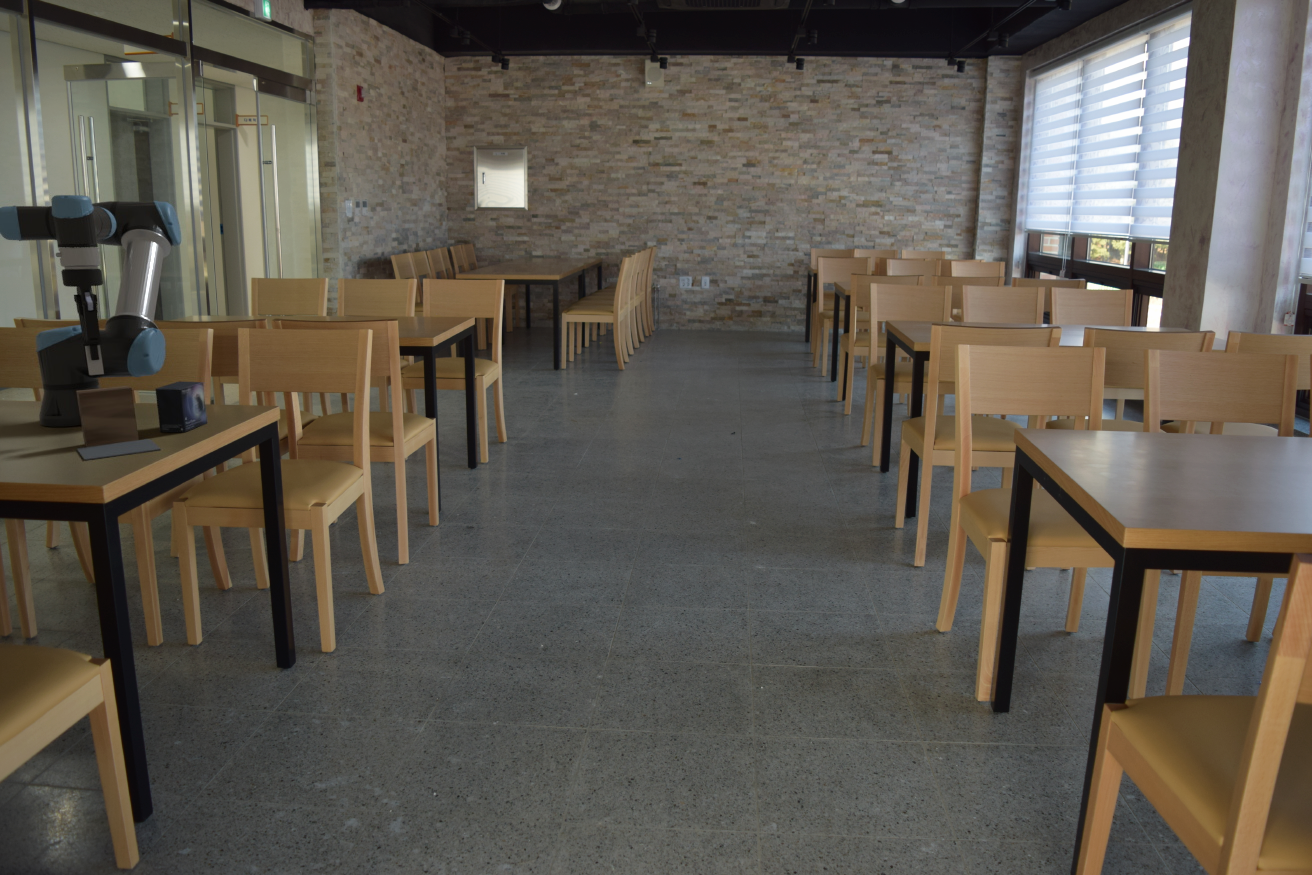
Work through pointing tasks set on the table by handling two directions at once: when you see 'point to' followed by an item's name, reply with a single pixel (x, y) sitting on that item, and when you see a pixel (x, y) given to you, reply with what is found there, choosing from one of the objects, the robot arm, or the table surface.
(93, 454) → the mat
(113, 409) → the brown rectangular box
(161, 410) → the small box
